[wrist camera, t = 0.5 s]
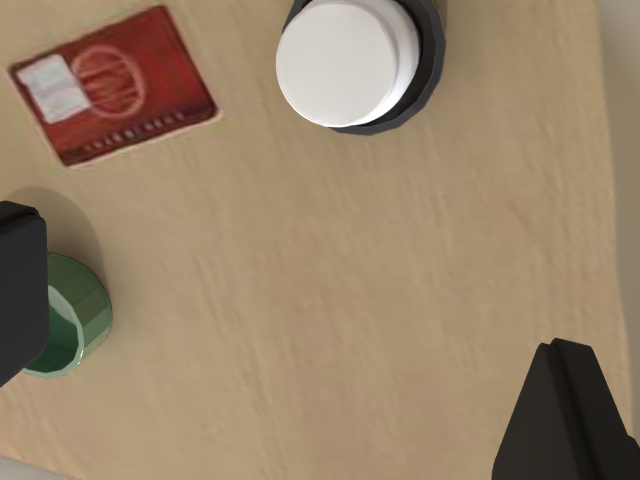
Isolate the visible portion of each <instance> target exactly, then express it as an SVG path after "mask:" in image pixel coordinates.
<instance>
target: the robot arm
mask: <svg viewBox="0 0 640 480" xmlns="http://www.w3.org/2000/svg"><path fill="white" fill-rule="evenodd" d="M49 336H50V329H49V297H48V265H47V233H46V222H45V220H44V219H43V218H42V217H40V214H39V212H38V210H36V209H35V208H34V207H29V206H25V205H21V204H17V203H13V202H9V201H1V202H0V388H1V387H2V386H3V385H4V384H5V383H7V382H8V381H9V380H10V379H11V378H13V377H14V376H15V375H16V374H17V373H19V372H20V371H21V370H22V369H23V368H25V367H26V366H27V365H28V364H29V363H31V362H32V361H33V360H34V359H35V358H37V357H38V356H39V355H40V354H41V353H42V352H43V351H44V350H45V348H46V346H47V344H48V341H49ZM0 480H81V479H77V478H74V477H71V476H68V475H65V474H61V473H58V472H55V471H52V470H49V469H45V468H42V467H39V466H36V465H33V464H30V463H26V462H23V461H20V460H17V459H14V458H10V457H7V456H4V455H1V454H0ZM492 480H640V447H639V446H638V444H637V442H636V441H635V439H634V438H632V437H631V436H629V435H628V434H627V432H626V429H625V427H624V424H623V422H622V419H621V417H620V415H619V412H618V410H617V407H616V405H615V402H614V400H613V397H612V395H611V393H610V390H609V388H608V385H607V383H606V380H605V378H604V375H603V373H602V371H601V368H600V366H599V363H598V361H597V358H596V356H595V354H594V351H593V349H592V348H591V346H587V345H583V344H579V343H575V342H571V341H567V340H563V339H559V338H555V339H553V341H552V342H551V343H550V345H549V344H545V343H541V344H540V345H539V346H538V348H537V350H536V353H535V355H534V358H533V361H532V363H531V366H530V369H529V371H528V374H527V377H526V379H525V382H524V385H523V387H522V390H521V392H520V395H519V398H518V400H517V403H516V406H515V408H514V411H513V414H512V416H511V419H510V421H509V424H508V427H507V429H506V432H505V435H504V437H503V440H502V443H501V445H500V448H499V450H498V453H497V456H496V458H495V461H494V465H493V470H492Z"/></svg>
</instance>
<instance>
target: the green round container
mask: <svg viewBox="0 0 640 480" xmlns="http://www.w3.org/2000/svg"><path fill="white" fill-rule="evenodd" d="M47 265H48V297H49V329H50V336H49V341H48V344H47V346H46V348H45V350H44V351H43V352H42V353H41V354H40V355H39V356H38V357H37V358H35V359H34V360H33V361H32V362H31V363H29V364H28V365H27V366H26V367H25V368H23V369H22V370H21V371H22V372H24V373H26V374H28V375H33V376H38V377H43V378H52V377H57V376H63V375H66V374H68V373H69V372H70V371H71V370H72V369H74V368H75V367H76V366H77V365H79V364H80V363H81V362H82V361H83V360H84V359H85V358H86V357H87V356H88V355H89V354H90V353H91V352H92V351H93V350H95V349H96V348H97V347H98V346H99V345H100V344H101V343H102V342H103V340H104V339H105V338H106V336H107V334H108V332H109V330H110V327H111V322H112V309H111V304H110V301H109V298H108V295H107V293H106V291H105V289H104V287H103V286H102V284H101V283H100V281H99V280H98V279H97V278H96V277H95V275H94V274H93V273H92V272H91V271H89V270H88V269H87V268H86V267H85V266H83V265H82V264H80V263H79V262H77V261H75V260H73V259H71V258H69V257H66V256H63V255H59V254H52V253H47Z"/></svg>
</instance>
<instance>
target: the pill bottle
mask: <svg viewBox="0 0 640 480" xmlns="http://www.w3.org/2000/svg"><path fill="white" fill-rule="evenodd" d="M420 58H421V37H420V32H419V29H418V26H417V24H416V22H415V20H414V18H413V16H412V15H411V13H410V12H409V11H408V10H407V9H406V8H405V7H404V6H403V5H402V4H401V3H400V2H399V1H397V0H313V1H311V2H310V3H309V4H307V5H306V6H305V7H304V8H303V9H302V10H301V12H300V13H299V14H297V15H296V16H295V17H294V18H293V20H292V21H291V22H290V23H289V24H288V26H287V27H286V29H285V31H284V33H283V35H282V37H281V39H280V42H279V45H278V49H277V54H276V72H277V77H278V82H279V85H280V88H281V90H282V92H283V94H284V96H285V98H286V99H287V101H288V102H289V103H290V105H291V106H292V107H293V108H294V109H295V110H296V111H297V112H298V113H299V114H300V115H302V116H303V117H305V118H306V119H308V120H310V121H312V122H314V123H316V124H319V125H323V126H327V127H346V126H350V125H358V124H363V123H366V122H369V121H372V120H374V119H376V118H378V117H380V116H382V115H383V114H385V113H386V112H388V111H389V110H390V109H391V108H392V107H393V106H394V105H395V104H396V103H397V102H398V101H399V100H400V98H401V97H402V95H403V94H404V92H405V91H406V89H407V87H408V86H409V84H410V82H411V81H412V79H413V77H414V76H415V74H416V71H417V69H418V66H419V63H420Z"/></svg>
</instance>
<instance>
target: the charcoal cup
mask: <svg viewBox="0 0 640 480" xmlns="http://www.w3.org/2000/svg"><path fill="white" fill-rule="evenodd" d="M311 1H313V0H295V1H294V4H293V6H292V8H291V11H290V13H289V15H288V18H287V20H286V22H285V24H284V27H283V30H282V35H283V33H284V31H285V29H286V27H287V26H288V24H289V23H290V22H291V21H292V20H293V18H294V17H295V16H296V15H297V14H299V13H300V12H301V10H302V9H303V8H304V7H305V6H306V5H307V4H309V3H310V2H311ZM397 1H399V2H400V3H401V4H402V5H403V6H404V7H405V8H406V9H407V10H408V11H409V12H410V13H411V15H412V16H413V18H414V20H415V22H416V24H417V26H418V29H419V32H420V37H421V58H420V63H419V66H418V69H417V71H416V74H415V76H414V77H413V79H412V81H411V82H410V84H409V86H408V87H407V89H406V91H405V92H404V94H403V95H402V97H401V98H400V100H399V101H398V102H397V103H396V104H395V105H394V106H393V107H392V108H391V109H390V110H389V111H388V112H386V113H385V114H383V115H382V116H380V117H378V118H376V119H374V120H372V121H369V122H366V123H363V124H358V125H350V126H346V127H328V128H330V129H332V130H334V131H336V132H338V133H344V134H353V135H362V136H371V135H375V134H378V133H382V132H385V131H389V130H392V129H396V128H398V127H400V126H401V125H403V124H404V123H405V122H406V121H408V120H409V119H410V118H411V117H413V116H414V115H415V114H417V113H418V112H419V111H420V110H422V109H423V108H424V107H425V105H426V103H427V102H428V100H429V98H430V96H431V95H432V93H433V91H434V90H435V88H436V86H437V84H438V83H439V81H440V79H441V76H442V69H443V63H444V56H445V49H446V42H447V41H446V35H445V31H444V27H443V23H442V19H441V15H440V10H439V8H438V7H437V5H436V4H435V3H434V1H433V0H397Z"/></svg>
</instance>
